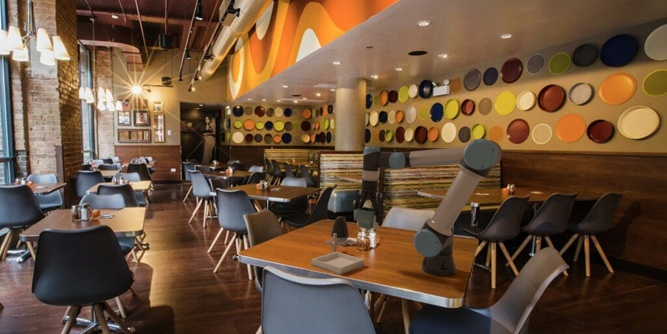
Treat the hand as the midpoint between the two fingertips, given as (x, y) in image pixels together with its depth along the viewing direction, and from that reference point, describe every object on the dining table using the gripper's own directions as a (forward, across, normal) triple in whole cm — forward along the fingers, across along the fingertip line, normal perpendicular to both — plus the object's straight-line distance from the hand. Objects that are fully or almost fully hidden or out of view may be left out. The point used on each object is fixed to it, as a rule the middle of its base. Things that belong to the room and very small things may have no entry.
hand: (367, 226), depth 172 cm
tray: (+18, +8, +11) cm, 23 cm away
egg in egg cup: (+19, +36, -22) cm, 46 cm away
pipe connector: (+19, +23, -4) cm, 30 cm away
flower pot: (+1, 0, 0) cm, 1 cm away
